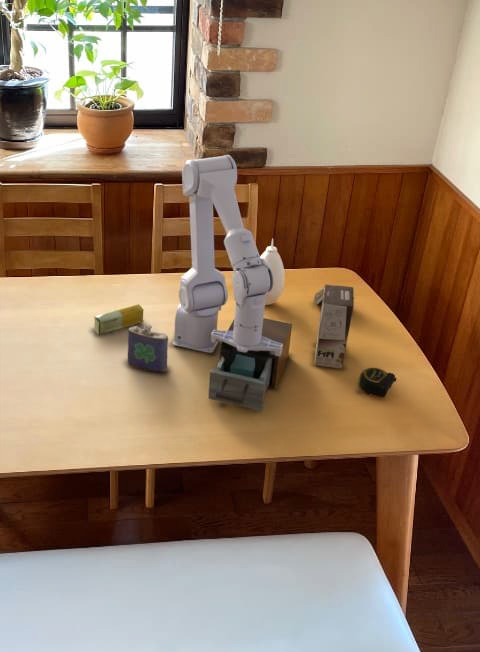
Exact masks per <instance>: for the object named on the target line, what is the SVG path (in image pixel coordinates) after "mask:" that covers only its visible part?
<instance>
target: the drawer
mask: <svg viewBox="0 0 480 652" xmlns="http://www.w3.org/2000/svg"><path fill="white" fill-rule="evenodd" d="M237 354H238V355H242V356H247V357H252V358H255V356H256V354H252V353H248V352H240V351H238V350H236V352H235V357H236V355H237ZM274 359H275V358H271V357H268V360H267V361H266V363H265V364H264V365H263V367H262V368H261V370H260V373H259V377H258V379H256V378H251V377H246V376H242V375H237V374H233V373H228V369H227V365H226V362H225V360H224V358H223V356H222V358H221V360H220V362H219V361H218V363H217V365H216V369H215V368H211V369H210V371H209V378H208V379H209V380H208V381H209V382H208V393H207V395H208V397H207V399H209V400H213V401H218V402H222V403H225V404H230V405H234V406H239V407H243V408H247V409H252V410H256V411H261V412H262V411H263V408H264V404H265V395H266V392H267V390H268V388H267V387H268V385H269V383H270V380H271V378H272V375H273V367H274Z"/></svg>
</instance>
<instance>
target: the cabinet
mask: <svg viewBox="0 0 480 652" xmlns="http://www.w3.org/2000/svg"><path fill="white" fill-rule="evenodd" d="M292 329H293V323H291V322H286V321H280V320H277V319H270V318H265V317H263V326H262V335H261V336H263V337H266V338H268V339H270V340H272V341H275V342H278V343H281V344H283V347H282V353H281V355H280V357H279V356H275V354H274V353H270V355H269V357H271V358H275V359H274V367H273V375H272V378H271V380H270V383H269V385H268V387H267V389H271V390H275V389H276V387H277V384H278V383H279V380H280V377H281V375H282V373H283V370H284V367H285V365H286V363H287V361H288V357H289V353H290V346H291V339H292V337H291V336H292ZM233 330H234V319H233V320H232V322H231V323H230V326H229V327H228V329H227V331H233ZM221 345H222V342H220V346H219V349H220V348H221ZM236 350H237V348H236ZM247 352H248V353H252V354H257V352H258V351H257V350H248V351H247ZM221 358H222V354H221V353H220V352H219V358H218V359H219V360H218V363H219V362H220V360H221Z"/></svg>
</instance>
